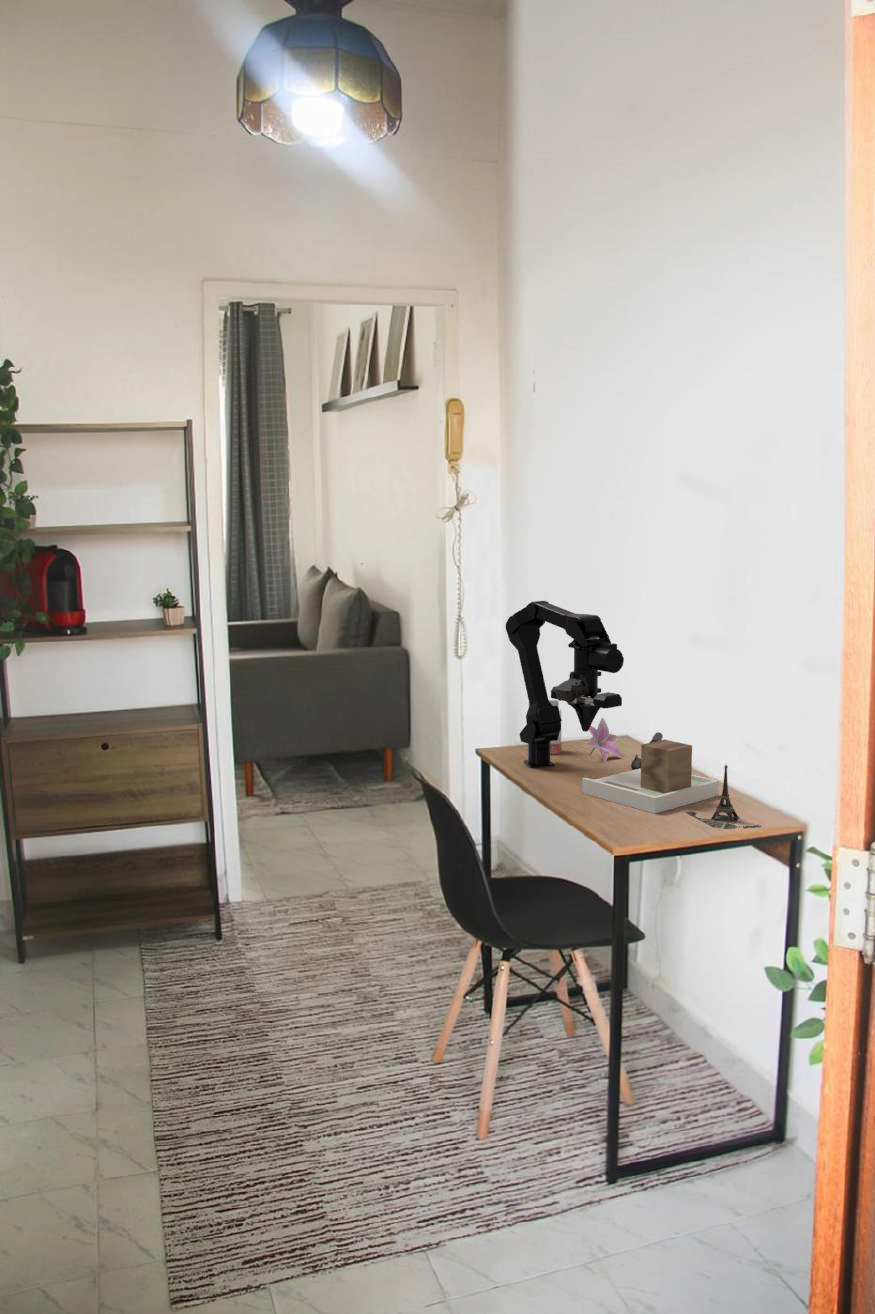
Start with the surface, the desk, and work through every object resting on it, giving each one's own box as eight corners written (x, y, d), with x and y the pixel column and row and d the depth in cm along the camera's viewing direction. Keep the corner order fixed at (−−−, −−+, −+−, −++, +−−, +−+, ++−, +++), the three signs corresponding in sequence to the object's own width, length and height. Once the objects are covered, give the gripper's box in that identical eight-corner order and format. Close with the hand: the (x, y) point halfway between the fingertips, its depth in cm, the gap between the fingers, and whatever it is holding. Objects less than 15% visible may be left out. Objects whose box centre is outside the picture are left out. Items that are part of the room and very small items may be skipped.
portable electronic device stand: (635, 762, 285) (636, 730, 284) (666, 764, 283) (667, 732, 282) (631, 770, 277) (631, 738, 276) (662, 772, 275) (663, 739, 273)
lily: (579, 767, 285) (596, 737, 281) (566, 740, 295) (582, 712, 291) (618, 776, 289) (635, 748, 285) (604, 750, 299) (621, 722, 295)
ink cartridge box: (561, 750, 299) (562, 697, 297) (559, 754, 294) (559, 700, 292) (530, 749, 301) (530, 696, 299) (527, 753, 296) (527, 699, 294)
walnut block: (640, 787, 252) (641, 744, 250) (663, 781, 257) (664, 739, 255) (668, 794, 245) (669, 750, 244) (691, 788, 250) (692, 745, 249)
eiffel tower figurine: (682, 814, 241) (684, 754, 239) (723, 809, 244) (725, 750, 242) (720, 833, 227) (722, 770, 225) (762, 828, 230) (765, 766, 228)
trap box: (582, 792, 257) (582, 778, 256) (645, 777, 270) (645, 763, 270) (655, 813, 240) (655, 798, 239) (718, 795, 253) (718, 780, 253)
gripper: (534, 666, 267) (534, 729, 269) (590, 676, 252) (590, 742, 255) (567, 662, 274) (566, 723, 276) (623, 670, 259) (622, 735, 262)
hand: (585, 731), depth 267 cm, fingers closed
